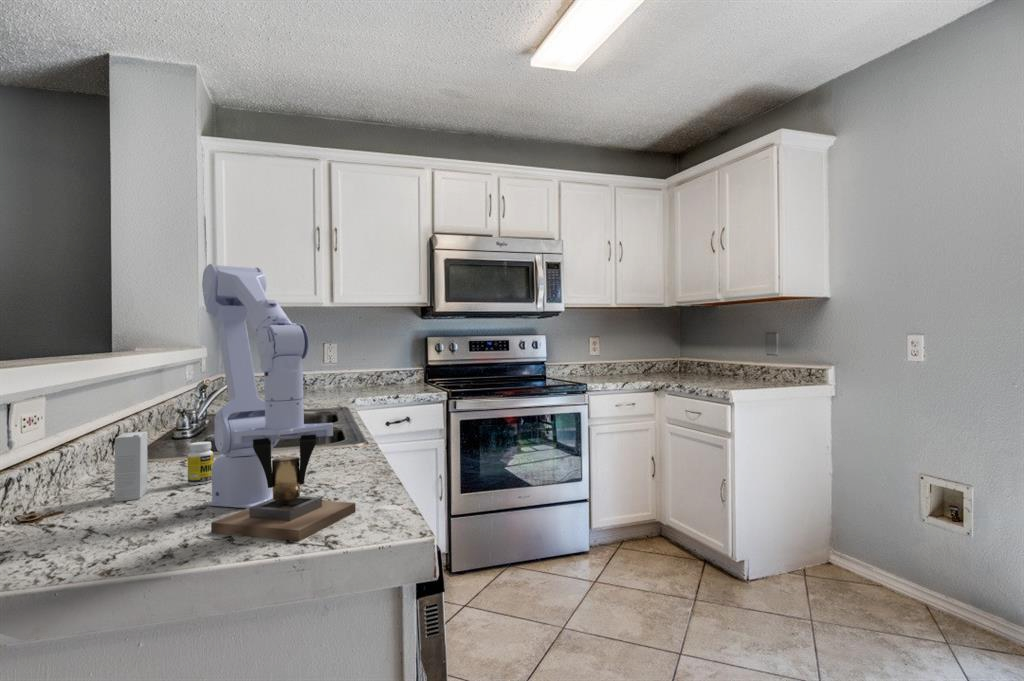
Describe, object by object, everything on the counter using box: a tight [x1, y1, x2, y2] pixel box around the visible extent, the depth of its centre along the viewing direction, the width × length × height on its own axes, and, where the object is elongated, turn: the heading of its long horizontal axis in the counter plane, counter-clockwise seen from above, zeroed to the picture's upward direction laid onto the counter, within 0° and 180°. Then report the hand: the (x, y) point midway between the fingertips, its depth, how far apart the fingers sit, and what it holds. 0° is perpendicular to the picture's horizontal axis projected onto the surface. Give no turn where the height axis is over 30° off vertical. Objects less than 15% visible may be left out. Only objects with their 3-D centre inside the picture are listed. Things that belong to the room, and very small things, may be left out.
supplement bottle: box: [187, 441, 214, 486], centre depth 116 cm, size 5×5×8 cm
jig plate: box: [210, 499, 356, 542], centre depth 87 cm, size 16×14×2 cm
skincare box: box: [114, 431, 148, 502], centre depth 105 cm, size 6×4×12 cm
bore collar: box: [249, 495, 323, 521], centre depth 87 cm, size 8×8×2 cm
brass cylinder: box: [271, 456, 301, 500], centre depth 87 cm, size 4×4×6 cm
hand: (286, 484), depth 87 cm, fingers closed on brass cylinder, 4 cm apart
